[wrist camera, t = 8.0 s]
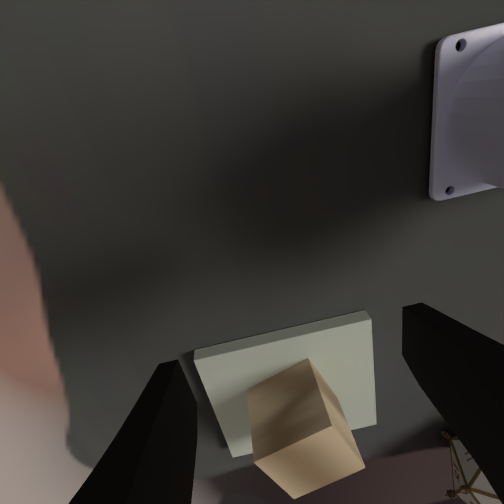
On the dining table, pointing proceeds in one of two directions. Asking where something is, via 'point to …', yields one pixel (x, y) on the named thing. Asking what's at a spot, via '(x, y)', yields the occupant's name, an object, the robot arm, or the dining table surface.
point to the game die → (468, 476)
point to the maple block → (300, 431)
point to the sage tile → (283, 357)
